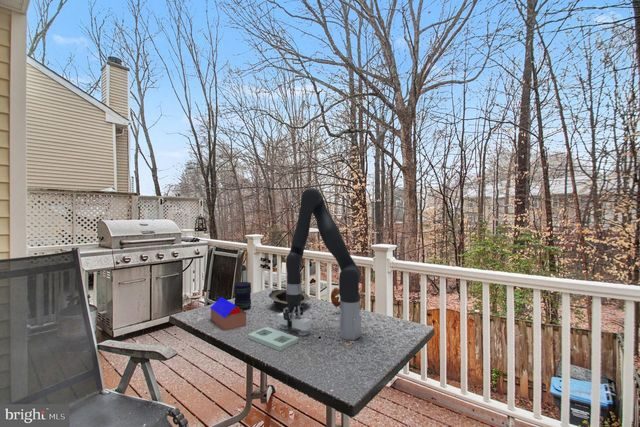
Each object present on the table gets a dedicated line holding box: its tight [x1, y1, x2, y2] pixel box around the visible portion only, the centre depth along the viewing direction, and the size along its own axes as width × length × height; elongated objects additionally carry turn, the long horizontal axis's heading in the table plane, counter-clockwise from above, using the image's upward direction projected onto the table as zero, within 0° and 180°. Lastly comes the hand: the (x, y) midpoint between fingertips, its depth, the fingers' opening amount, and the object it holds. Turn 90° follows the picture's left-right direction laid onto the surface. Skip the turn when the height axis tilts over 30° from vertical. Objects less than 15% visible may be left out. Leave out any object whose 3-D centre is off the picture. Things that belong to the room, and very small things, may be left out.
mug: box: [330, 287, 340, 308], centre depth 182 cm, size 15×8×15 cm, turn 84°
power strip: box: [276, 312, 312, 337], centre depth 156 cm, size 18×5×7 cm, turn 52°
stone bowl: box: [268, 289, 310, 311], centre depth 194 cm, size 25×25×9 cm
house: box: [209, 296, 247, 331], centre depth 167 cm, size 12×20×12 cm, turn 39°
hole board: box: [247, 326, 300, 352], centre depth 145 cm, size 21×12×2 cm, turn 52°
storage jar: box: [233, 281, 252, 312], centre depth 191 cm, size 10×10×15 cm
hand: (293, 326), depth 156 cm, fingers closed on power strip, 5 cm apart
